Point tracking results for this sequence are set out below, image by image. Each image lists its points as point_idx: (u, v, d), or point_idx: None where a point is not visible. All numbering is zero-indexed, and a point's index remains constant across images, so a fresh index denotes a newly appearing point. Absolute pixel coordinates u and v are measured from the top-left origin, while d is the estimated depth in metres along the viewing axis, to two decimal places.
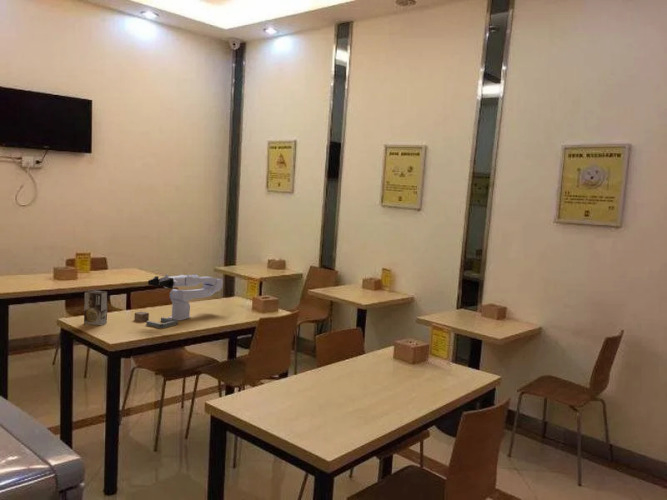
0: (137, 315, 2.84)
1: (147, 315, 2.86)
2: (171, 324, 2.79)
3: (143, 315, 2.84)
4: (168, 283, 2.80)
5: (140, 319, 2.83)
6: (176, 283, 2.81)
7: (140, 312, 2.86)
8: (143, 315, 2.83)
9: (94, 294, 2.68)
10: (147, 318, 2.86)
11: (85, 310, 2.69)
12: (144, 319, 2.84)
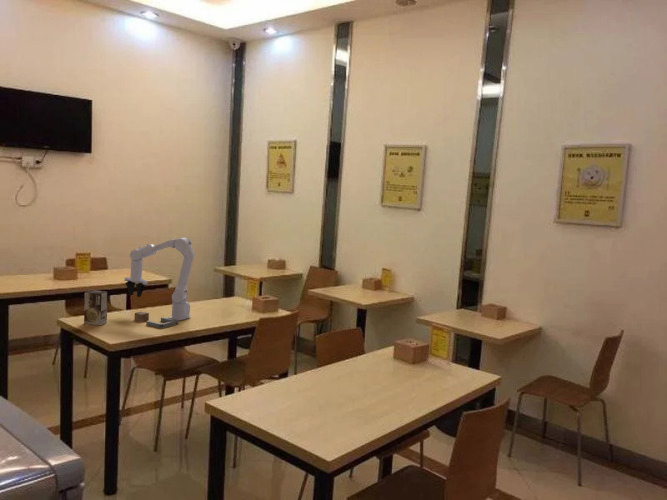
0: (137, 315, 2.84)
1: (147, 315, 2.86)
2: (171, 324, 2.79)
3: (143, 315, 2.84)
4: None
5: (140, 319, 2.83)
6: None
7: (140, 312, 2.86)
8: (143, 315, 2.83)
9: (94, 294, 2.68)
10: (147, 318, 2.86)
11: (85, 310, 2.69)
12: (144, 319, 2.84)
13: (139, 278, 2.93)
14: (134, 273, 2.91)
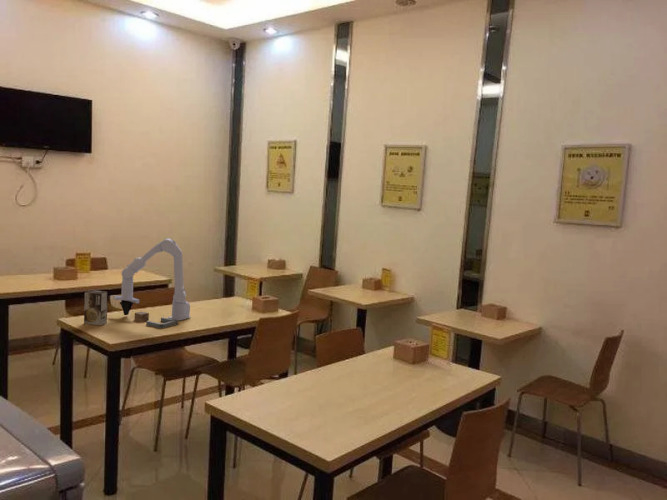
0: (137, 315, 2.84)
1: (147, 315, 2.86)
2: (171, 324, 2.79)
3: (143, 315, 2.84)
4: None
5: (139, 319, 2.83)
6: None
7: (140, 312, 2.86)
8: (143, 315, 2.83)
9: (94, 294, 2.68)
10: (147, 318, 2.86)
11: (85, 310, 2.69)
12: (144, 319, 2.84)
13: (130, 297, 2.88)
14: (125, 292, 2.86)
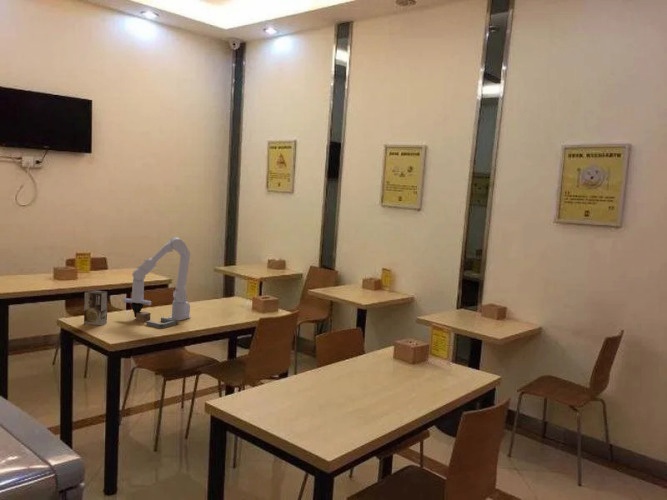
0: (139, 315, 2.83)
1: (149, 315, 2.86)
2: (171, 324, 2.79)
3: (145, 315, 2.83)
4: None
5: (141, 319, 2.83)
6: None
7: (142, 312, 2.86)
8: (145, 315, 2.83)
9: (94, 294, 2.68)
10: (149, 318, 2.86)
11: (85, 310, 2.69)
12: (145, 319, 2.84)
13: (142, 299, 2.86)
14: (137, 294, 2.83)
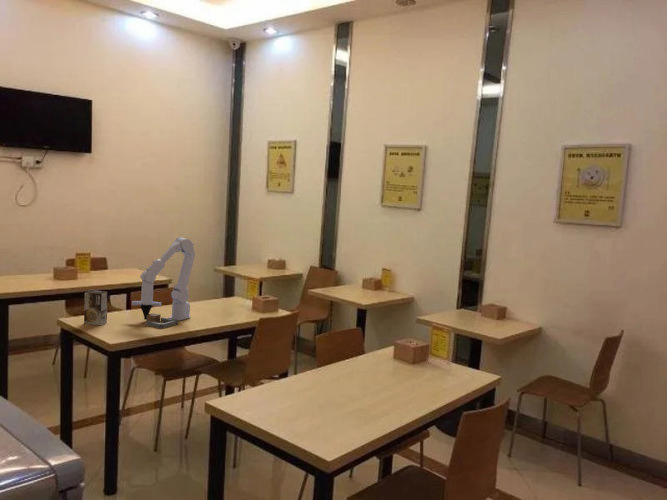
0: (149, 317, 2.81)
1: (159, 317, 2.84)
2: (171, 324, 2.79)
3: (156, 317, 2.81)
4: None
5: (153, 321, 2.81)
6: None
7: (151, 314, 2.84)
8: (156, 317, 2.81)
9: (94, 294, 2.68)
10: (159, 320, 2.85)
11: (85, 310, 2.69)
12: (156, 321, 2.82)
13: (152, 300, 2.84)
14: (148, 296, 2.81)
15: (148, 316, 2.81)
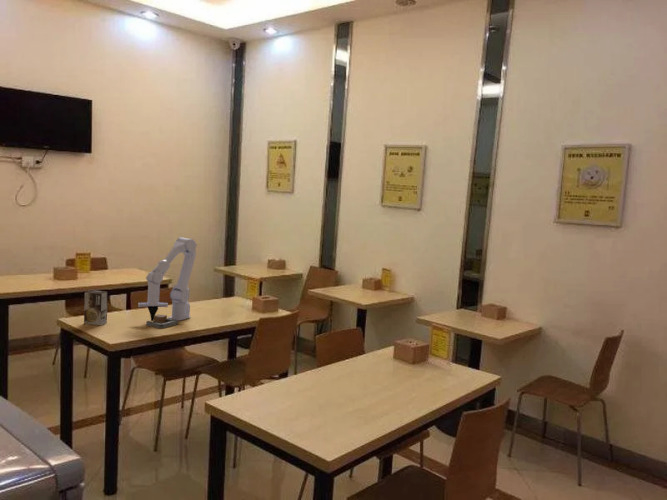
0: (157, 318, 2.80)
1: (166, 317, 2.84)
2: (171, 324, 2.79)
3: (164, 318, 2.81)
4: None
5: (160, 322, 2.80)
6: (138, 305, 2.79)
7: (158, 315, 2.82)
8: (164, 318, 2.81)
9: (94, 294, 2.68)
10: (165, 320, 2.84)
11: (85, 310, 2.69)
12: (164, 322, 2.82)
13: (158, 301, 2.83)
14: (156, 297, 2.80)
15: (155, 317, 2.80)
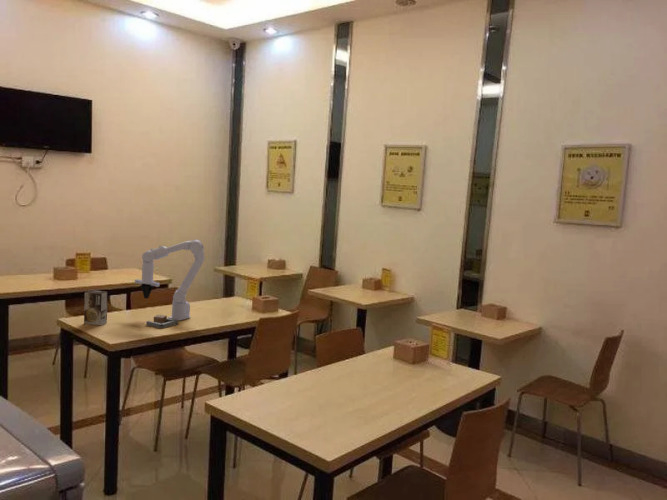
0: (157, 319, 2.80)
1: (166, 318, 2.84)
2: (171, 324, 2.79)
3: (164, 318, 2.81)
4: None
5: (160, 322, 2.80)
6: None
7: (158, 315, 2.82)
8: (163, 318, 2.81)
9: (94, 294, 2.68)
10: (165, 321, 2.84)
11: (85, 310, 2.69)
12: (164, 322, 2.82)
13: (151, 280, 2.90)
14: (146, 275, 2.88)
15: (155, 318, 2.80)
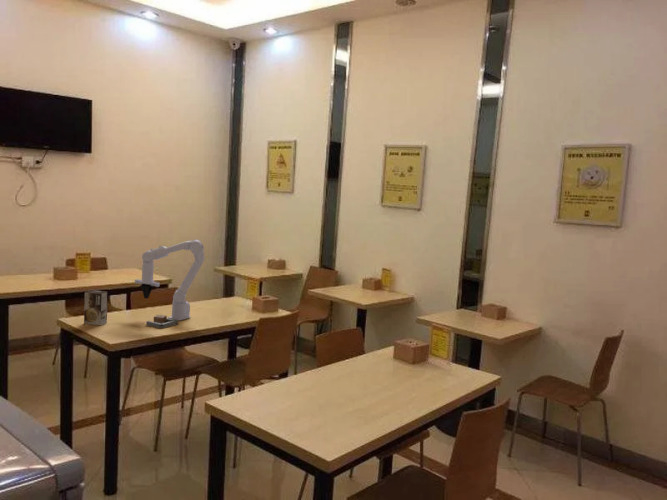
0: (157, 319, 2.80)
1: (166, 318, 2.84)
2: (171, 324, 2.79)
3: (164, 318, 2.81)
4: None
5: (160, 322, 2.80)
6: None
7: (158, 315, 2.82)
8: (164, 318, 2.81)
9: (94, 294, 2.68)
10: (165, 321, 2.84)
11: (85, 310, 2.69)
12: (164, 322, 2.82)
13: (151, 280, 2.90)
14: (146, 275, 2.88)
15: (155, 318, 2.80)
